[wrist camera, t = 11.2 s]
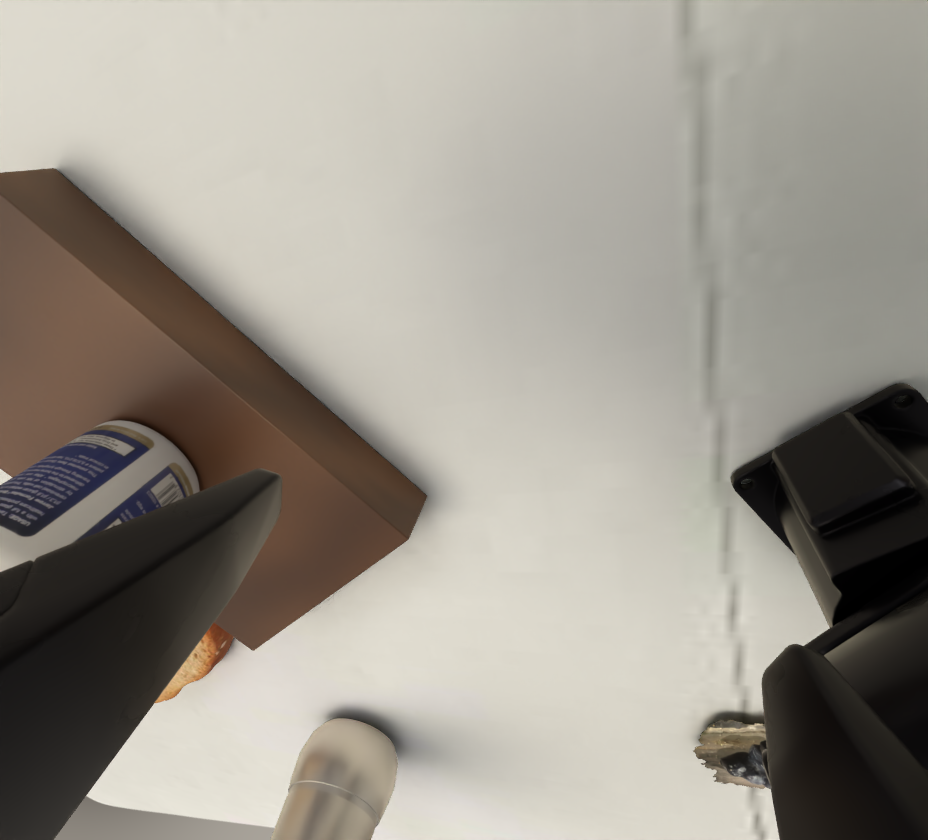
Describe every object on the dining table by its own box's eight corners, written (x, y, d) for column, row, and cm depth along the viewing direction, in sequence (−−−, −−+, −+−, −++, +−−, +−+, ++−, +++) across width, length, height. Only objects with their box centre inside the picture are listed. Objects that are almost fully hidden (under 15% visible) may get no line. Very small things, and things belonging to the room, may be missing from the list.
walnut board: (428, 496, 24) (408, 539, 22) (280, 608, 31) (253, 651, 28) (54, 167, 20) (-24, 173, 17) (-21, 381, 27) (-85, 408, 24)
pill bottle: (75, 454, 23) (-206, 634, 15) (124, 393, 21) (-179, 569, 13) (168, 533, 25) (-42, 736, 17) (226, 484, 22) (11, 696, 14)
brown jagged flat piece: (673, 717, 28) (678, 753, 27) (835, 690, 25) (852, 730, 23) (724, 784, 30) (731, 821, 29) (880, 768, 27) (898, 809, 25)
